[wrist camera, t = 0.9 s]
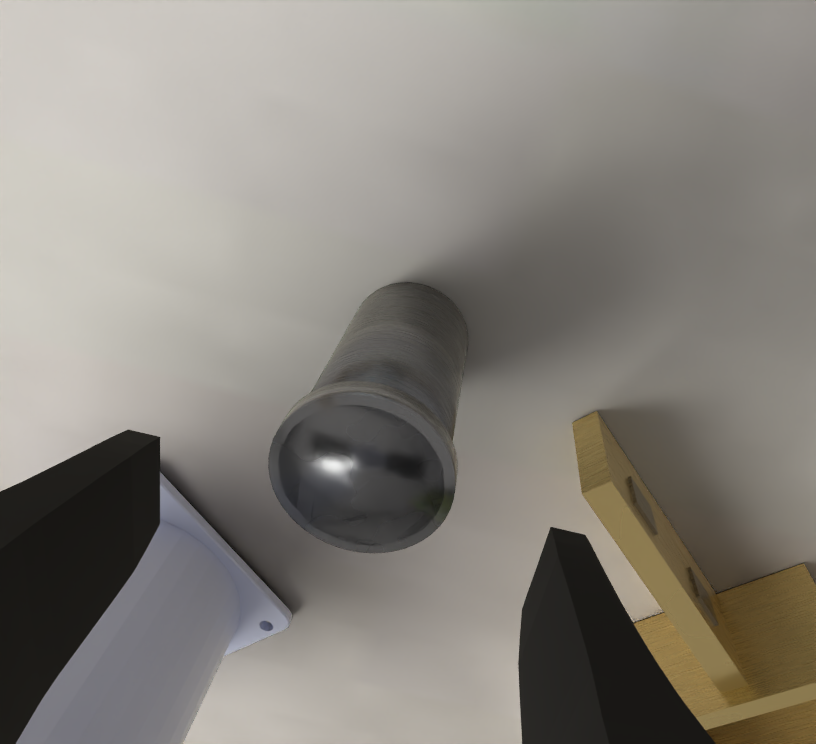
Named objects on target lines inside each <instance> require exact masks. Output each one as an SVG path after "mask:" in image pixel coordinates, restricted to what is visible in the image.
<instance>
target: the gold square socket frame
mask: <svg viewBox="0 0 816 744" xmlns="http://www.w3.org/2000/svg"><path fill="white" fill-rule="evenodd" d="M572 425H573V432H574V439H575V446H576V454H577V461H578V468H579V476H580V483H581V490H582V495H583V496H584V497H585V499H586V500H587V502H588V503H589V505H590V506H591V508H592V509H593V510H594V512H595V513H596V515H597V516H598V518H599V519H600V521H601V522H602V523H603V525H604V526H605V528H606V529H607V531H608V532H609V533H610V535H611V536H612V538H613V539H614V541H615V542H616V544H617V545H618V546H619V548H620V549H621V551H622V552H623V554H624V555H625V556H626V558H627V559H628V561H629V562H630V564H631V565H632V567H633V568H634V569H635V571H636V572H637V574H638V575H639V577H640V578H641V580H642V581H643V582H644V584H645V585H646V587H647V588H648V590H649V591H650V592H651V594H652V595H653V597H654V598H655V600H656V601H657V603H658V604H659V605H660V607H661V608H662V610H663V611H664V613H662V614H659V615H656V616H653V617H650V618H648V619H645V620H642V621H639V622H636V623H634V625H635V627H636V629H637V631H638V632H639V634H640V636H641V637H642V639H643V641H644V642H645V644H646V646H647V647H648V649H649V650H650V652H651V654H652V655H653V657H654V659H655V660H656V662H657V663H658V665H659V666H660V668H661V669H662V671H663V672H664V674H665V675H666V677H667V678H668V680H669V681H670V683H671V684H672V686H673V687H674V689H675V690H676V692H677V693H678V694H679V696H680V697H681V699H682V700H683V701H684V703H685V704H686V706H687V707H688V708H689V709H690V711H691V712H692V713H693V715H694V716H695V717H696V719H697V720H698V721H699V722H700V724H701V725H702V726H703V728H704V729H705V730H706V732H707V733H708V734H709V736H710V737H711V738H712V739H713V741H714V742H715V743H716V744H816V584H815V582H814V580H813V578H812V577H811V575H810V573H809V572H808V570H807V568H806V567H805V565H804V563H803V564H800V565H797V566H794V567H792V568H789V569H786V570H783V571H780V572H777V573H775V574H772V575H769V576H766V577H763V578H761V579H758V580H755V581H752V582H749V583H746V584H744V585H741V586H738V587H735V588H732V589H729V590H727V591H724V592H721V593H718V594H716V593H715V591H714V590H713V588H712V587H711V585H710V584H709V582H708V580H707V579H706V577H705V576H704V574H703V573H702V571H701V570H700V568H699V567H698V565H697V564H696V562H695V561H694V559H693V558H692V556H691V554H690V553H689V551H688V550H687V548H686V547H685V545H684V544H683V542H682V541H681V539H680V538H679V536H678V535H677V533H676V531H675V530H674V528H673V527H672V525H671V524H670V522H669V521H668V519H667V518H666V516H665V515H664V513H663V512H662V510H661V509H660V507H659V505H658V504H657V502H656V501H655V499H654V498H653V496H652V495H651V493H650V492H649V490H648V489H647V487H646V486H645V484H644V483H643V481H642V479H641V478H640V476H639V475H638V473H637V472H636V470H635V469H634V467H633V466H632V464H631V463H630V461H629V460H628V458H627V456H626V455H625V453H624V452H623V450H622V449H621V447H620V446H619V444H618V443H617V441H616V440H615V438H614V437H613V435H612V434H611V432H610V430H609V429H608V427H607V426H606V424H605V423H604V421H603V420H602V418H601V417H600V415H599V414H598V412H597V411H596V412H594V413H591V414H589V415H587V416H585V417H583V418H581V419H579V420H577V421H575V422H573V423H572Z"/></svg>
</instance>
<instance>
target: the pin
mask: <svg viewBox="0 0 816 744" xmlns="http://www.w3.org/2000/svg"><path fill="white" fill-rule="evenodd" d="M467 346H468V333H467V328H466V324H465V321H464V319H463V317H462V315H461V313H460V311H459V310H458V308H457V307H456V306H455V305H454V303H453V302H452V301H451V300H450V299H449V298H447V297H446V296H445V295H443V294H442V293H440V292H439V291H437V290H435V289H433V288H431V287H428V286H425V285H421V284H416V283H396V284H392V285H388V286H386V287H383V288H381V289H379V290H377V291H375V292H374V293H373V294H371V295H370V296H369V297H368V298H367V299H366V300H365V301H364V302H363V303H362V304H361V306H360V307H359V309H358V311H357V313H356V314H355V316H354V318H353V320H352V321H351V323H350V325H349V327H348V328H347V330H346V332H345V334H344V336H343V337H342V339H341V341H340V343H339V344H338V346H337V348H336V350H335V351H334V353H333V355H332V357H331V358H330V360H329V362H328V364H327V366H326V367H325V369H324V371H323V373H322V374H321V376H320V378H319V380H318V381H317V383H316V385H315V387H314V388H313V390H312V392H311V393H309V394H308V395H306V396H305V397H303V398H302V399H301V400H300V401H299V402H298V403H297V404H296V405H295V406H294V407H293V408H292V409H291V410H290V412H289V413H288V414H287V416H286V418H285V419H284V421H283V423H282V424H281V426H280V428H279V429H278V431H277V433H276V435H275V437H274V439H273V442H272V445H271V447H270V453H269V465H268V468H269V475H270V480H271V484H272V487H273V490H274V492H275V494H276V497H277V499H278V500H279V502H280V503H281V505H282V507H283V508H284V509H285V511H286V512H287V513H288V514H289V516H290V517H291V518H292V519H293V520H294V521H295V522H296V523H297V524H298V525H300V526H301V527H302V528H303V529H304V530H306V531H307V532H309V533H310V534H312V535H313V536H315V537H316V538H318V539H320V540H322V541H324V542H326V543H329V544H331V545H334V546H336V547H339V548H343V549H346V550H351V551H356V552H364V553H385V552H392V551H397V550H401V549H405V548H407V547H410V546H412V545H415V544H417V543H418V542H420V541H422V540H424V539H425V538H427V537H428V536H429V535H431V534H432V533H433V532H434V531H435V530H436V529H437V528H438V527H439V526H440V525H441V524H442V522H443V521H444V520H445V518H446V516H447V514H448V513H449V511H450V508H451V505H452V503H453V499H454V493H455V486H456V479H457V456H456V451H455V448H454V444H453V435H454V428H455V422H456V416H457V409H458V403H459V397H460V390H461V384H462V378H463V371H464V365H465V359H466V352H467Z"/></svg>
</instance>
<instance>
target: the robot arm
mask: <svg viewBox="0 0 816 744" xmlns="http://www.w3.org/2000/svg"><path fill="white" fill-rule="evenodd" d="M291 619H292V613H291V612H290V610H289V609H288V608H287V607H286V606H285V605H284V604H283V603H282V601H281V600H280V599H279V598H278V597H277V596H276V595H275V594H274V593H273V592H272V591H271V590H270V589H269V588H268V587H267V585H266V584H265V583H264V582H263V581H262V580H261V579H260V578H259V577H258V576H257V575H256V574H255V573H254V572H253V571H252V569H251V568H250V567H249V566H248V565H247V564H246V563H245V562H244V561H243V560H242V559H241V558H240V557H239V556H238V555H237V553H236V552H235V551H234V550H233V549H232V548H231V547H230V546H229V545H228V544H227V543H226V542H225V541H224V540H223V539H222V537H221V536H220V535H219V534H218V533H217V532H216V531H215V530H214V529H213V528H212V527H211V526H210V525H209V524H208V523H207V521H206V520H205V519H204V518H203V517H202V516H201V515H200V514H199V513H198V512H197V511H196V510H195V509H194V508H193V506H192V505H191V504H190V503H189V502H188V501H187V500H186V499H185V498H184V497H183V496H182V495H181V494H180V493H179V492H178V490H177V489H176V488H175V487H174V486H173V485H172V484H171V483H170V482H169V481H168V480H167V479H166V478H165V477H164V476H163V474H162V473H161V472H160V437H158V436H153V435H149V434H145V433H140V432H136V431H132V430H126V431H124V432H122V433H120V434H117V435H115V436H113V437H111V438H109V439H107V440H105V441H103V442H101V443H99V444H97V445H95V446H93V447H91V448H89V449H87V450H85V451H83V452H81V453H79V454H77V455H75V456H73V457H71V458H70V459H68V460H66V461H64V462H62V463H60V464H57V465H55V466H53V467H51V468H49V469H47V470H45V471H43V472H41V473H39V474H37V475H35V476H33V477H31V478H29V479H27V480H25V481H23V482H21V483H19V484H16V485H14V486H12V487H10V488H7V489H5V490H3V491H1V492H0V744H183V742H184V740H185V738H186V736H187V733H188V731H189V729H190V727H191V725H192V723H193V721H194V718H195V716H196V714H197V712H198V710H199V708H200V706H201V704H202V701H203V699H204V697H205V695H206V693H207V691H208V689H209V686H210V684H211V682H212V680H213V678H214V676H215V674H216V672H217V669H218V667H219V665H220V663H221V661H222V659H223V657H224V656H226V655H228V654H230V653H233V652H235V651H237V650H239V649H242V648H244V647H246V646H249V645H251V644H253V643H255V642H258V641H260V640H262V639H264V638H267V637H269V636H271V635H274V634H276V633H278V632H280V631H283V630H285V629H286V628H288V627H289V625H290V622H291ZM266 621H269V622H270V623H269V622H266ZM518 665H519V687H520V708H521V726H522V744H716V743H715V742H714V741H713V739H712V738H711V737H710V736H709V734H708V733H707V732H706V730H705V729H704V728H703V726H702V725H701V724H700V722H699V721H698V720H697V719H696V717H695V716H694V715H693V713H692V712H691V711H690V709H689V708H688V707H687V706H686V704H685V703H684V701H683V700H682V699H681V697H680V696H679V694H678V693H677V692H676V690H675V689H674V687H673V686H672V684H671V683H670V681H669V680H668V678H667V677H666V675H665V674H664V672H663V671H662V669H661V668H660V666H659V665H658V663H657V662H656V660H655V659H654V657H653V655H652V654H651V652H650V650H649V649H648V647H647V646H646V644H645V642H644V641H643V639H642V637H641V636H640V634H639V632H638V631H637V629H636V627H635V625H634V624H633V622H632V620H631V619H630V617H629V615H628V614H627V612H626V610H625V608H624V607H623V605H622V603H621V601H620V599H619V598H618V596H617V594H616V592H615V590H614V588H613V586H612V585H611V583H610V581H609V579H608V577H607V575H606V573H605V571H604V569H603V567H602V566H601V564H600V562H599V560H598V558H597V556H596V554H595V552H594V550H593V548H592V546H591V544H590V542H589V540H588V539H587V537H586V536H585V535H584V534H579V533H575V532H570V531H566V530H562V529H557V528H553V527H551V528H550V531H549V534H548V536H547V539H546V542H545V545H544V548H543V551H542V554H541V557H540V559H539V562H538V565H537V568H536V571H535V574H534V577H533V580H532V582H531V585H530V588H529V591H528V594H527V597H526V600H525V603H524V605H523V608H522V618H521V631H520V646H519V663H518Z"/></svg>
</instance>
